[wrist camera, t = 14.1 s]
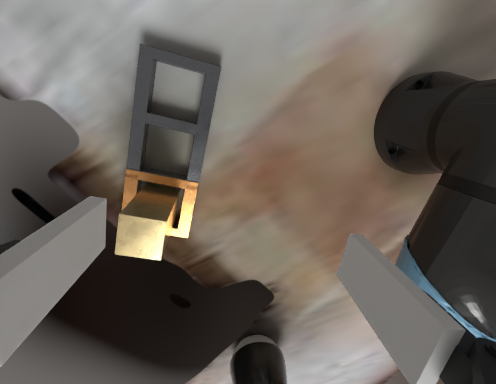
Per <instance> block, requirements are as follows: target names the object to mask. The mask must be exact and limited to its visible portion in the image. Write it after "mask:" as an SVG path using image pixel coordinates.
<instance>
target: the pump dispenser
mask: <svg viewBox="0 0 496 384" xmlns="http://www.w3.org/2000/svg"><path fill="white" fill-rule="evenodd" d="M230 371H231V378H232V383H233V384H287V375H286V366H285V360H284V356H283V353H282V351H281V350H280V349H279V348H278V346H277V345H276V344H275V342H274V341H273V340H271V339H270V338H268V337H266V336H263V335H251V336H248V337H246V338H244V339H243V340H242V341H241V342H240V343H239V344H238V345H237V347H236V348H235V350H234V353H233V357H232V359H231V362H230Z"/></svg>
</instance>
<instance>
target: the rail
mask: <svg viewBox="0 0 496 384" xmlns="http://www.w3.org/2000/svg"><path fill="white" fill-rule="evenodd" d="M157 61H158V62H162V63H165V64H169V65H172V66H176V67H180V68H183V69H187V70H191V71H194V72H198V73H201V74H205V75H206V77H205V82H204V88H203V93H202V99H201V104H200V110H199V115H198V121H197V123H193V122H189V121H185V120H181V119H176V118H172V117H168V116H164V115H160V114H156V113H151V112H150V110H151V102H152V95H153V87H154V79H155V71H156V63H157ZM220 70H221V67H219V66H216V65H212V64H209V63H205V62H202V61H198V60H195V59H191V58H188V57H184V56H181V55H177V54H174V53H170V52H167V51H163V50H160V49H156V48H153V47H149V46H146V45H142V44H140V50H139V59H138V68H137V77H136V87H135V96H134V105H133V114H132V124H131V133H130V142H129V152H128V161H127V169H126V175H125V185H124V194H123V203H122V210H123V209H124V208H125V207H126V206H127V205H128V203H129V202H130V201H131V200H132V199H133V198H134V197H135V196H136V194H137V193H138V192H139V191H140V189H141V181H146V182H152V183H157V184H162V185H167V186H173V187H178V188H183V189H185V193H184V198H183V204H182V209H181V215H180V220H179V223H175V222H174V224H173V227H172V230H171V233H170V235H171V236H178V237H184V238H188V234H189V229H190V224H191V219H192V214H193V209H194V204H195V199H196V194H197V188H198V183H199V178H200V173H201V168H202V163H203V158H204V152H205V147H206V142H207V137H208V132H209V127H210V122H211V117H212V111H213V106H214V101H215V96H216V91H217V86H218V81H219V75H220ZM149 124H150V125H155V126H159V127H163V128H168V129H172V130H176V131H181V132H185V133H189V134H194V135H195V138H194V143H193V149H192V154H191V160H190V165H189V171H188V176H184V175H179V174H174V173H169V172H164V171H159V170H154V169H149V168H144V167H143V166H144V158H145V150H146V142H147V134H148V126H149Z"/></svg>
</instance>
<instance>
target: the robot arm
mask: <svg viewBox="0 0 496 384" xmlns="http://www.w3.org/2000/svg"><path fill="white" fill-rule="evenodd" d="M374 140H375V145H376V149H377V151H378V153H379V155H380V157H381V158H382V160H383V161H384V162H385V163H386V164H388V165H389V166H390V167H392V168H394V169H397V170H399V171H402V172H405V173H409V174H435V173H443V174H442V176H441V178H440V180H439V181H438V183H437V185H436V186H435V188H434V190H433V192H432V194H431V196H430V197H429V199H428V201H427V203H426V205H425V206H424V208H423V210H422V212H421V214H420V216H419V217H418V219H417V221H416V223H415V225H414V226H413V228H412V230H411V232H410V234H409V235H407V236H406V237H405V239H404V245H403V247H402V249H401V251H400V254H399V256H398V258H397V260H396V264H393V263H392V262H391V261H390V260H389V259H388V258H387V257H386V256H385V255H384V254H383V253H382V252H381V251H379V250H378V249H377V248H376V247H375V246H374V245H373V244H372V243H371V242H370V241H369V240H368V239H366V238H365V237H364V236H363V235H359V234H352V233H350V235H349V238H348V241H347V244H346V247H345V250H344V253H343V256H342V259H341V262H340V265H339V268H338V271H337V274H336V275H337V276H338V278H339V279H340V281H341V282H342V284H343V285H344V287H345V288H346V290H347V291H348V293H349V294H350V296H351V297H352V299H353V300H354V302H355V303H356V305H357V306H358V308H359V309H360V311H361V312H362V314H363V315H364V317H365V318H366V320H367V321H368V323H369V324H370V326H371V327H372V329H373V330H374V332H375V333H376V335H377V336H378V338H379V339H380V341H381V342H382V344H383V345H384V347H385V348H386V350H387V351H388V353H389V354H390V356H391V357H392V359H393V360H394V362H395V363H396V365H397V366H398V368H399V369H400V371H401V372H402V374H403V375H404V377H405V378H406V380H407V381H408V383H409V384H436V383H437V381H438V380H439V378H441V380H442V381H443V382H444V383H445V384H496V79H492V80H483V81H477V80H473V79H470V78H467V77H463V76H460V75H457V74H453V73H450V72H430V73H423V74H419V75H415V76H413V77H410V78H408V79H407V80H405V81H403V82H402V83H400V84H399V85H398V86H397V87H396V88H395V89H393V91H392V92H391V93H390V94H389V95H388V96H387V98H386V99H385V101H384V102H383V104H382V106H381V108H380V110H379V112H378V115H377V118H376V122H375V128H374ZM106 202H107V199H106V198H99V197H92V196H90V197H88V198H87V199H85V200H84V201H82V202H81V203H79V204H78V205H76V206H75V207H73V208H71V209H70V210H68V211H67V212H66V213H64V214H62V215H61V216H59V217H57V218H56V219H54V220H53V221H51V222H50V223H48V224H47V225H45V226H44V227H42V228H41V229H39V230H38V231H36V232H34V233H33V234H31V235H30V236H28V237H27V238H25V239H23V240H22V241H21V240H13V241H11V242H8V243H5V244H2V245H0V367H1V366H2V365H3V364H4V363H5V361H6V360H7V359H8V358H9V357H10V356H11V355H12V353H13V352H14V351H15V350H16V349H17V348H18V347H19V346H20V344H21V343H22V342H23V341H24V340H25V339H26V337H27V336H28V335H29V334H30V333H31V332H32V331H33V329H34V328H35V327H36V326H37V325H38V324H39V322H40V321H41V320H42V319H43V318H44V317H45V316H46V314H47V313H48V312H49V311H50V310H51V309H52V307H53V306H54V305H55V304H56V303H57V302H58V301H59V300H60V298H61V297H62V296H63V295H64V294H65V293H66V291H67V290H68V289H69V288H70V287H71V286H72V285H73V283H74V282H75V281H76V280H77V279H78V278H79V277H80V275H81V274H82V273H83V272H84V271H85V270H86V269H87V267H88V266H89V265H90V264H91V263H92V261H93V260H94V259H95V258H96V257H97V256H98V255H99V253H100V252H101V251H102V250H103V249H104V248H105V235H106Z"/></svg>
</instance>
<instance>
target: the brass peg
mask: <svg viewBox="0 0 496 384" xmlns="http://www.w3.org/2000/svg"><path fill="white" fill-rule="evenodd" d="M180 191H181V189H180V188H175V187H170V186H165V185H159V184H154V183H149V182H147V183H146V184H145V186H144V187H143V188H142V189H141V190H140V191H139V192H138V193H137V194H136V196H135V197H134V198H133V199H132V200H131V201H130V202H129V203H128V205H127V206H126V207H125V208H124V209H123V210H122V211H121V212H120V214H119V220H118V229H117V239H116V249H115V254H117V255H125V256H132V257H139V258H146V259H154V260H161V258H162V255H163V252H164V250H165V247H166V244H167V241H168V238H169V236H170V233H171V230H172V227H173V224H174V222H175V219H176V214H177V208H178V203H179V197H180Z"/></svg>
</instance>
